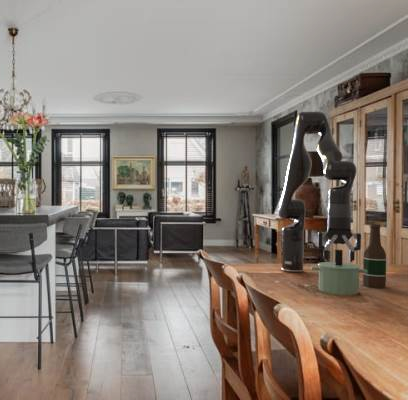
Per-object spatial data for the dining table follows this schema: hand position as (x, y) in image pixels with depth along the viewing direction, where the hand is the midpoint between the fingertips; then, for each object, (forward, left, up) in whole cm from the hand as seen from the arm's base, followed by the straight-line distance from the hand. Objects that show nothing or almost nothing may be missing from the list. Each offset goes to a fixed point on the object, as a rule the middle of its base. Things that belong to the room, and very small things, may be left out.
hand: (338, 261), depth 159 cm
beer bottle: (-17, +15, -12) cm, 25 cm away
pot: (0, 0, -11) cm, 11 cm away
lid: (0, 0, -2) cm, 2 cm away
